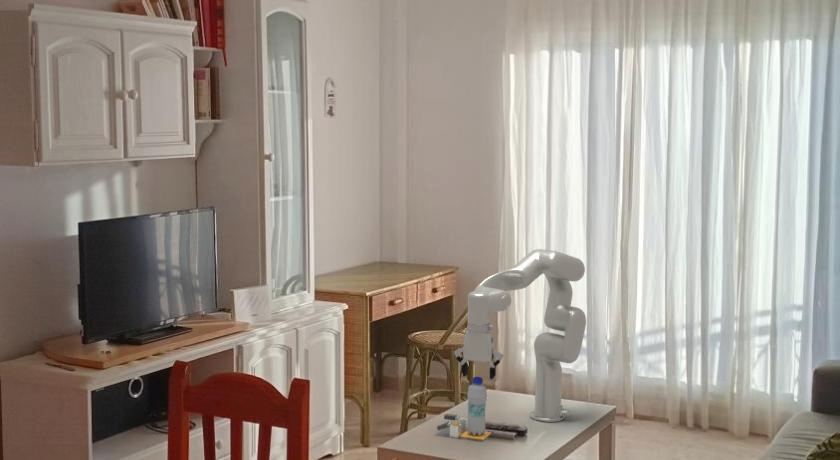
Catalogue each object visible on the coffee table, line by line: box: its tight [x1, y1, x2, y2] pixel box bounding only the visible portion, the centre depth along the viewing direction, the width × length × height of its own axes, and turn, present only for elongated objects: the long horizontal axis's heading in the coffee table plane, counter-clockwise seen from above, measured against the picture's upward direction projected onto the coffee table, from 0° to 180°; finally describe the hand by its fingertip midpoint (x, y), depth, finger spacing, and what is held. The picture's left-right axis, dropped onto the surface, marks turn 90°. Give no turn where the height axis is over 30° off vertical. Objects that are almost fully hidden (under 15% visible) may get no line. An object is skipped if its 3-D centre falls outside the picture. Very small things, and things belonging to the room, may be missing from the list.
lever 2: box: [443, 413, 461, 421], centre depth 359 cm, size 5×3×1 cm, turn 69°
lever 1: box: [436, 421, 453, 432], centre depth 352 cm, size 5×3×1 cm, turn 68°
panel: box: [434, 416, 493, 443], centre depth 354 cm, size 17×13×6 cm
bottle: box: [466, 376, 488, 436], centre depth 352 cm, size 7×7×20 cm
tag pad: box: [460, 430, 492, 441], centre depth 353 cm, size 8×8×1 cm
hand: (478, 377), depth 351 cm, fingers open, 9 cm apart
